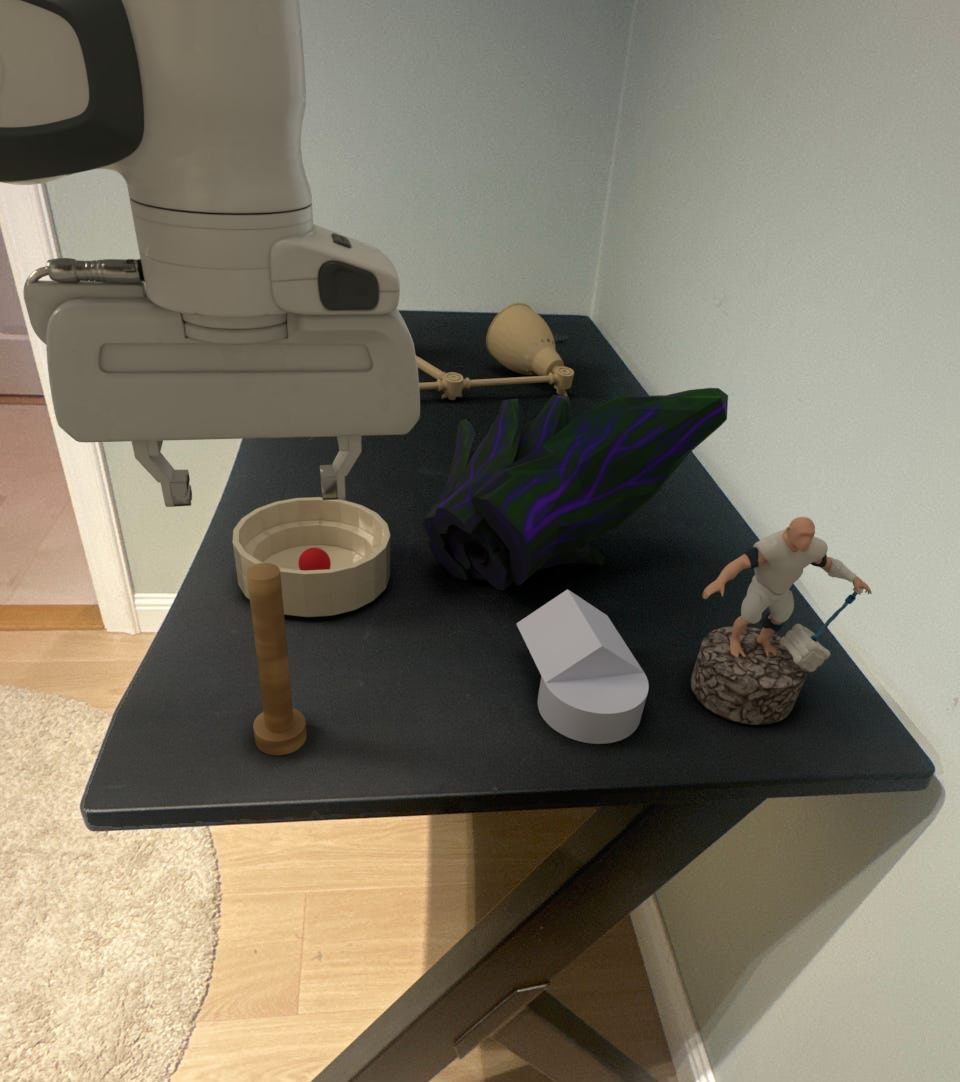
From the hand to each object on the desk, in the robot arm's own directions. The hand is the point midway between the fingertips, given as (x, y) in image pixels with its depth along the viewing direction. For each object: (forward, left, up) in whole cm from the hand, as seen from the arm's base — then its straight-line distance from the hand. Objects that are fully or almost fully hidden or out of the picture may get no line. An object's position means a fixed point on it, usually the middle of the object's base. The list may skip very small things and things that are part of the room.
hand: (258, 499), depth 49 cm
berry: (+4, +22, -19) cm, 30 cm away
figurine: (+40, 0, -21) cm, 46 cm away
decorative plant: (+29, +26, -21) cm, 44 cm away
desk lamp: (+30, +86, -21) cm, 93 cm away
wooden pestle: (0, 0, -21) cm, 21 cm away
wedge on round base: (+26, +2, -21) cm, 33 cm away
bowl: (+4, +23, -21) cm, 31 cm away
